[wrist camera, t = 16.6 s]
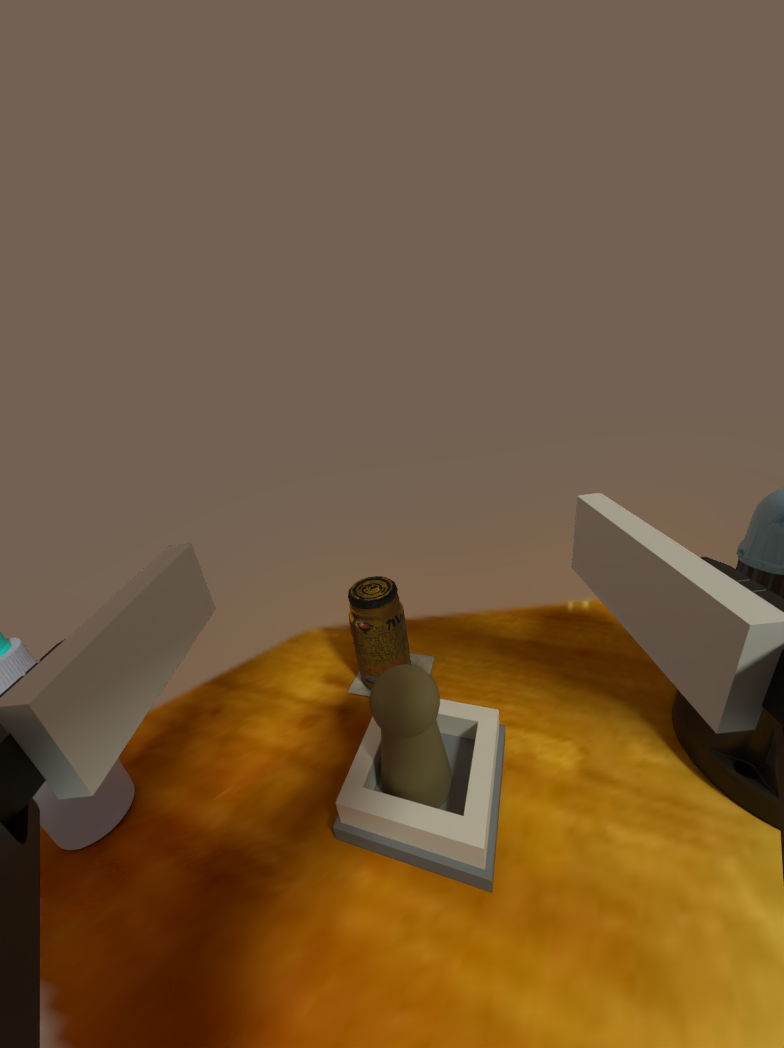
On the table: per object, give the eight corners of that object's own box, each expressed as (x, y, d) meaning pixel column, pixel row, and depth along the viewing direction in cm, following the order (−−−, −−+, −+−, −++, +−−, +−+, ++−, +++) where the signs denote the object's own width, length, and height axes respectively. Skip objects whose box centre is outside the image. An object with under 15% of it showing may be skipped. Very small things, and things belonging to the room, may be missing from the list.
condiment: (371, 648, 50) (355, 568, 45) (435, 658, 47) (426, 573, 42) (347, 693, 44) (327, 606, 39) (420, 707, 41) (407, 615, 36)
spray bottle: (124, 767, 39) (8, 581, 30) (146, 805, 35) (21, 605, 26) (50, 821, 35) (-110, 625, 26) (66, 871, 31) (-115, 661, 22)
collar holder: (505, 736, 37) (505, 706, 35) (492, 892, 26) (490, 860, 25) (386, 711, 41) (381, 683, 39) (336, 838, 31) (326, 807, 29)
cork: (398, 734, 36) (383, 644, 32) (461, 756, 34) (454, 662, 29) (368, 799, 31) (345, 703, 27) (438, 830, 29) (426, 730, 24)
